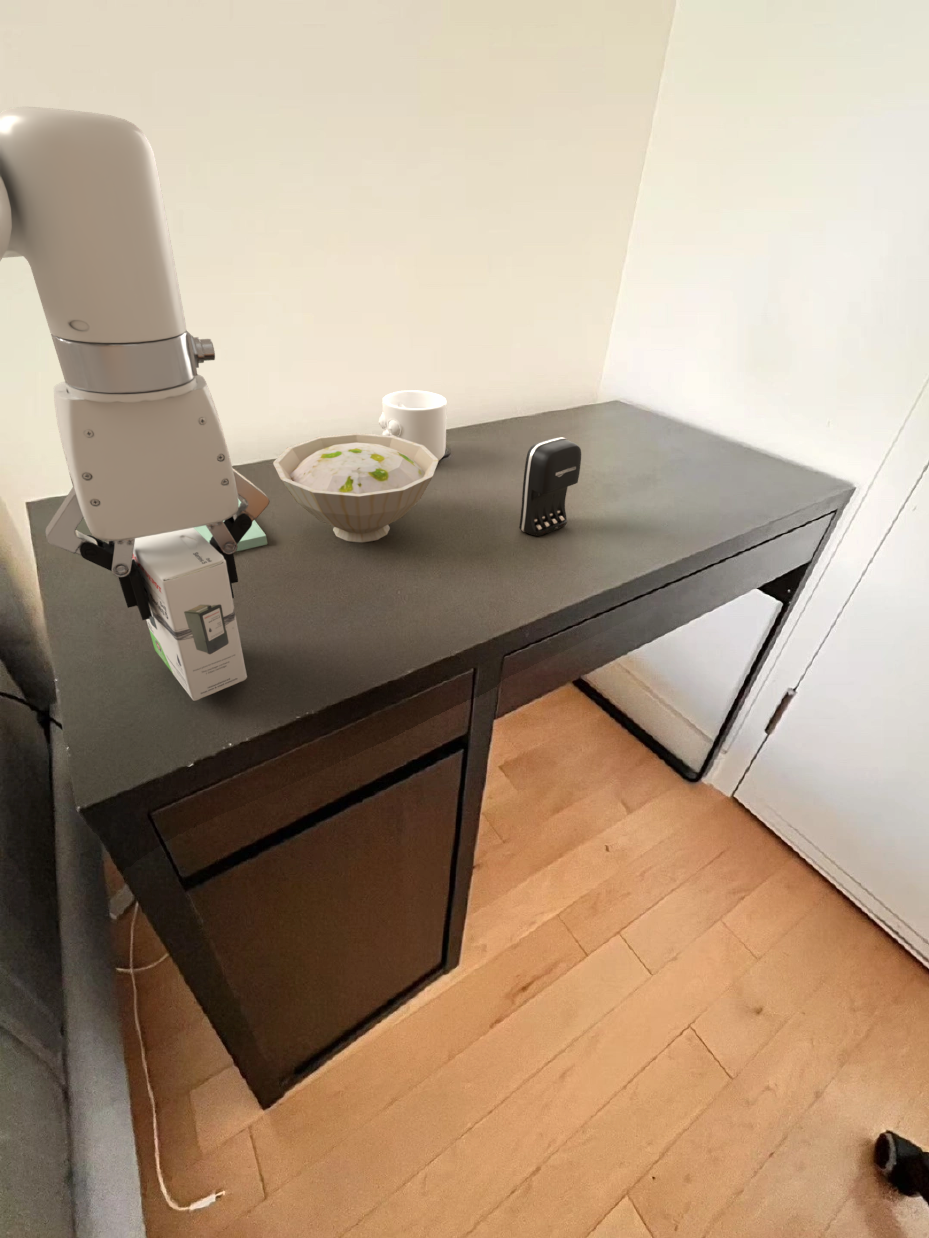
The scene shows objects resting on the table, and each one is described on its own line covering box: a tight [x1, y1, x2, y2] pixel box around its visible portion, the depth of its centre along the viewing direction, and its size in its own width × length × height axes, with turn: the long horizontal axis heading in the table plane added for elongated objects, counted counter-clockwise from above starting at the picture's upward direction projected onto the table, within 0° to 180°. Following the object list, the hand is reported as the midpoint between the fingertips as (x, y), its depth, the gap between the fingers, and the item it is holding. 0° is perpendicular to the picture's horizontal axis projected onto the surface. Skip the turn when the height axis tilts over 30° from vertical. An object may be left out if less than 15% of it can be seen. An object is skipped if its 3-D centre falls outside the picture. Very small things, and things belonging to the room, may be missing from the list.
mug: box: [378, 389, 448, 461], centre depth 95 cm, size 12×10×9 cm
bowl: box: [272, 432, 440, 543], centre depth 75 cm, size 19×19×10 cm
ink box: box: [132, 528, 248, 702], centre depth 50 cm, size 9×5×12 cm, turn 42°
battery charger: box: [518, 436, 582, 537], centre depth 76 cm, size 7×4×11 cm, turn 130°
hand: (185, 598), depth 49 cm, fingers closed on ink box, 5 cm apart
